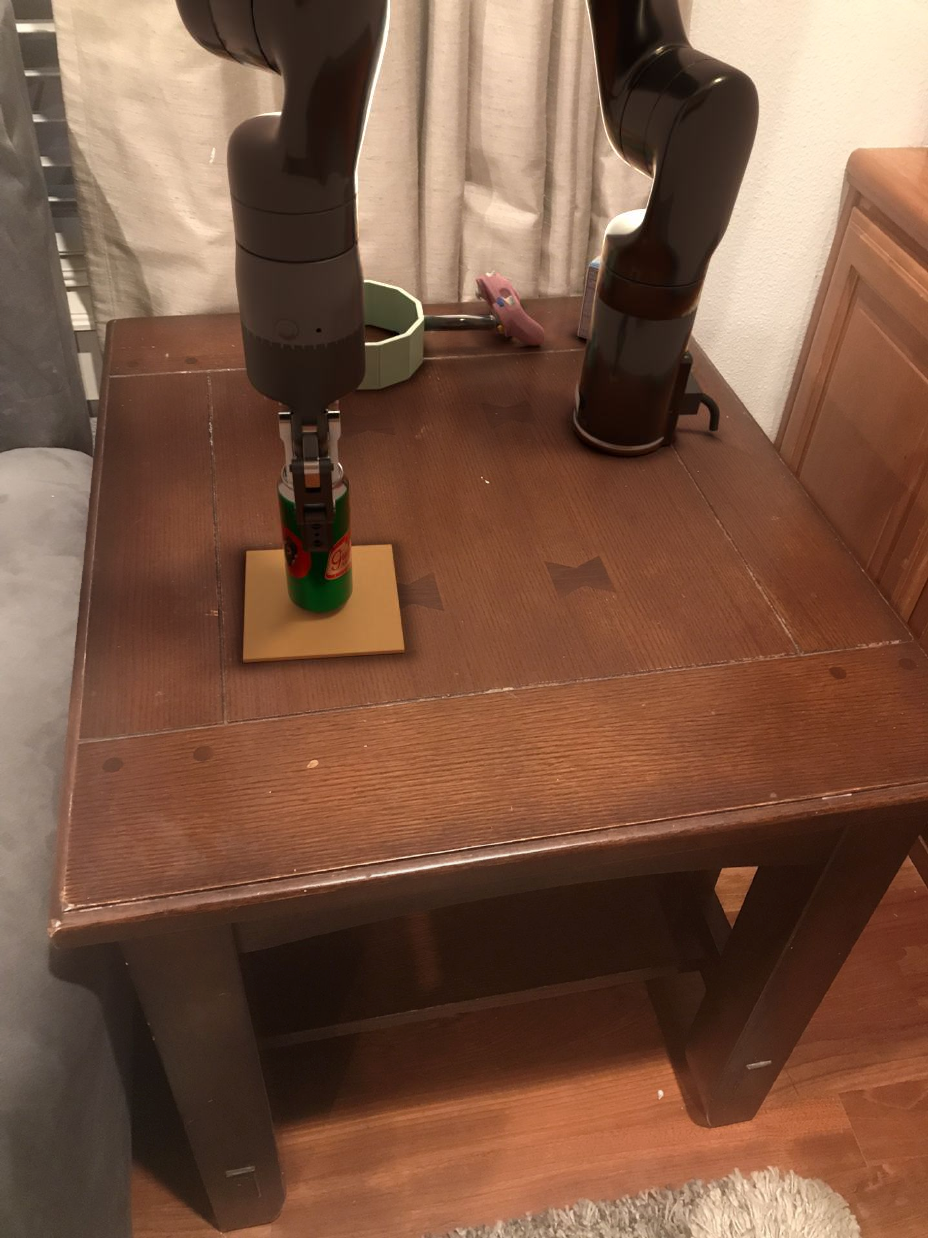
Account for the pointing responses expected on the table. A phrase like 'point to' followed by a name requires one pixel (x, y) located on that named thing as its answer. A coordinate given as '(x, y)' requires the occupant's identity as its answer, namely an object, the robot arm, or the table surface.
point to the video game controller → (508, 309)
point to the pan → (404, 333)
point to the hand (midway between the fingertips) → (316, 522)
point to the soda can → (320, 574)
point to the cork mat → (341, 632)
